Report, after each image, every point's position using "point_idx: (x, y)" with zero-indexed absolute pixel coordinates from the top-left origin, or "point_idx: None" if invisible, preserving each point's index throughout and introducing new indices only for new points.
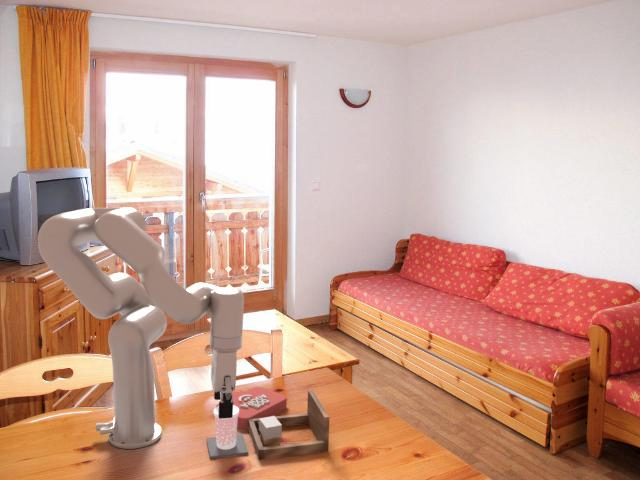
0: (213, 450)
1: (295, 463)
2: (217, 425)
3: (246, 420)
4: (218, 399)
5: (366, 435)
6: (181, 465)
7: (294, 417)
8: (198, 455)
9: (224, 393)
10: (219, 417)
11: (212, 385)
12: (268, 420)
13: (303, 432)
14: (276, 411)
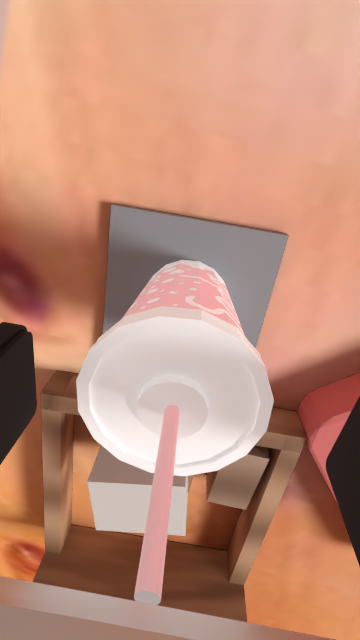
0: (158, 234)
1: (13, 449)
2: (153, 296)
3: (308, 429)
4: (351, 414)
5: None
6: (93, 38)
7: (239, 551)
8: (162, 157)
9: (351, 497)
10: (3, 327)
11: (117, 627)
12: None
13: None
14: None
